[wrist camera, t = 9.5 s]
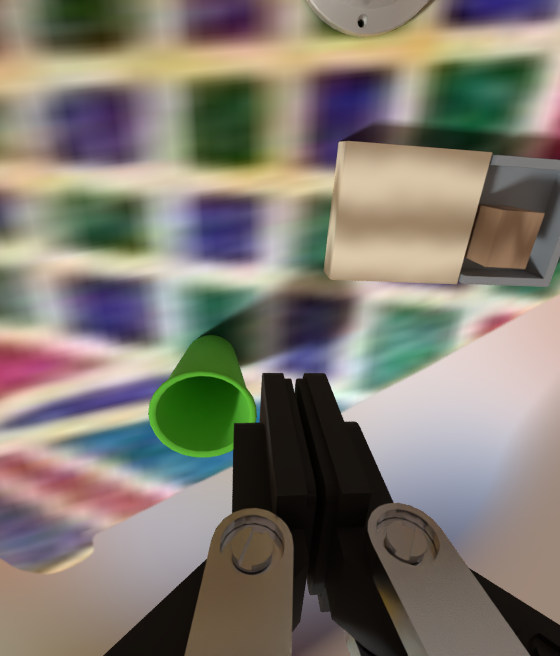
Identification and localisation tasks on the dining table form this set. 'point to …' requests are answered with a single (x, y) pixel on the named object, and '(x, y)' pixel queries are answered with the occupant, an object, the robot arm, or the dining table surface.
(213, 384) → the cup
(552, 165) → the bin
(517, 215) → the block
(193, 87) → the dining table surface
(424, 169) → the board
